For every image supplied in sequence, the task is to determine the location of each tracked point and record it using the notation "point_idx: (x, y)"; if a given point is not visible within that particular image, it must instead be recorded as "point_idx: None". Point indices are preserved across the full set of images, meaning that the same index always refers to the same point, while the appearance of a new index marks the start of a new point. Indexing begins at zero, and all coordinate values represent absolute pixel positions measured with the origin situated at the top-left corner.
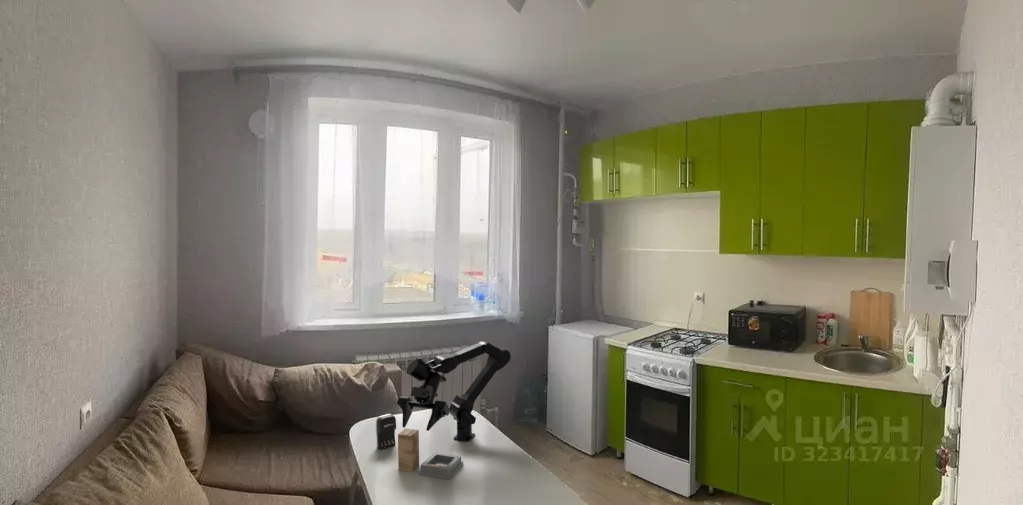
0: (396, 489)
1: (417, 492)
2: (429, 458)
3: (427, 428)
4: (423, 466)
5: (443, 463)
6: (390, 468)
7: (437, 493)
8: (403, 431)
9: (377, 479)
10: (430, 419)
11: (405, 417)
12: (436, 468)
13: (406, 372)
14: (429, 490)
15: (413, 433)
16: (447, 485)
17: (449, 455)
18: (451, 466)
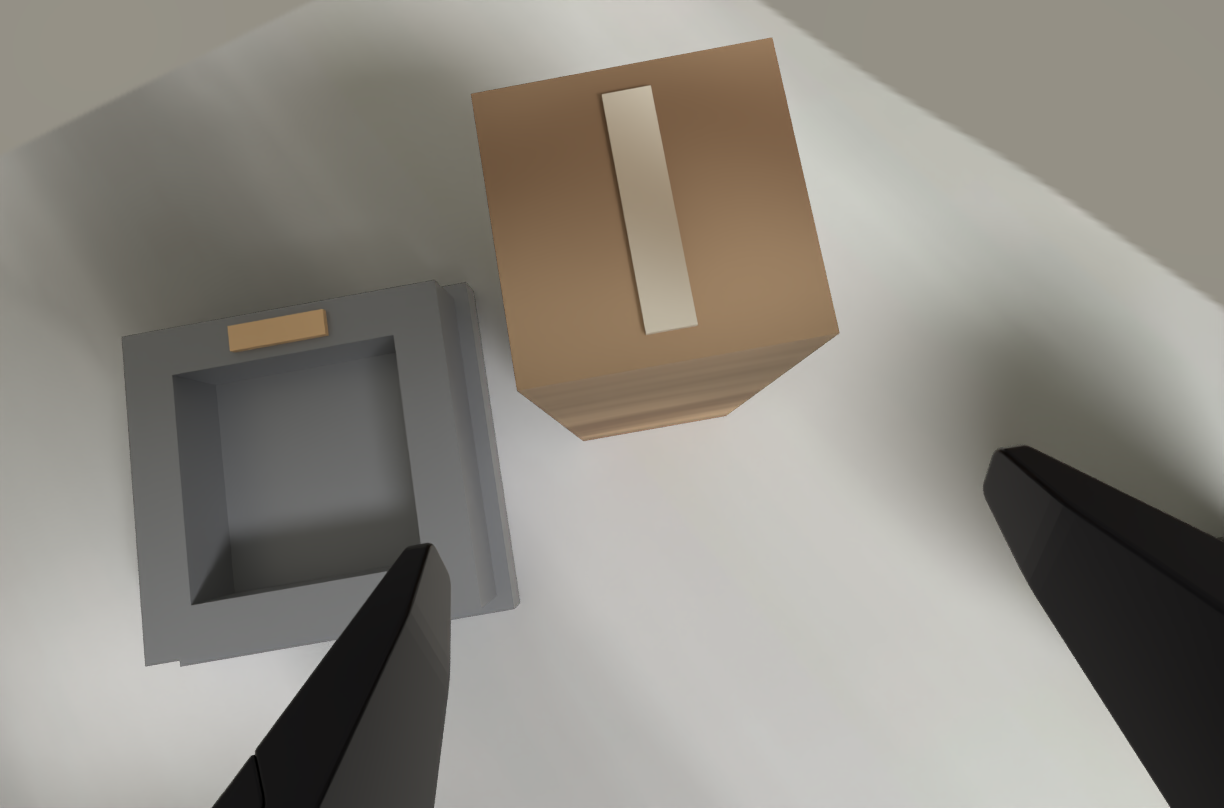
0: (482, 22)
1: (304, 64)
2: (437, 444)
3: (397, 558)
4: (403, 288)
5: (339, 528)
6: None
7: (153, 124)
8: (764, 189)
9: None
10: (305, 760)
11: (1187, 595)
12: (260, 315)
13: None
14: (234, 130)
15: (509, 207)
16: (142, 258)
17: (272, 611)
18: (129, 407)
